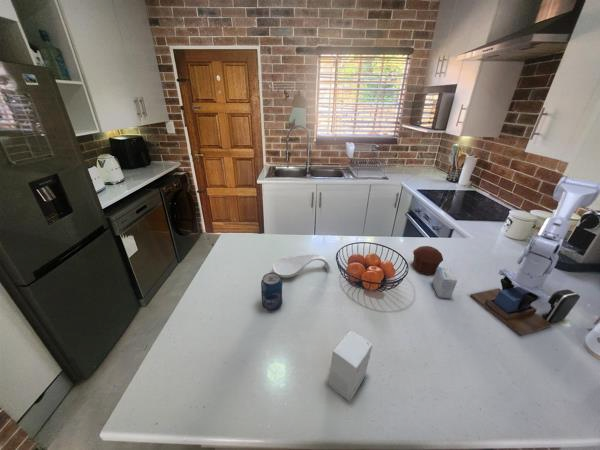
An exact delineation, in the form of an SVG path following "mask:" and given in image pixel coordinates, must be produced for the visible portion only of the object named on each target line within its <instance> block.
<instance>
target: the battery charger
mask: <svg viewBox="0 0 600 450" xmlns="http://www.w3.org/2000/svg"><path fill="white" fill-rule="evenodd" d="M550 296H551V298H550V299H549V301H548V302H547V303H548V304H549V305H550V309H549V310H548V312H546V313H543V314H541V318H543V319H544V320H546V321H547V322H549V323H556V322H560V321H564V320H566V317H567V316H568V315H569V313H570V312H571V311H572V309H574V307H575V305H576V304H577V303H578V301H579V300H580V298H581V295H579V294H578V293H576V292H574V291H572V290H571V289H561V290H556V291H554V292H553V293H552V294H551V295H550Z"/></svg>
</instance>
